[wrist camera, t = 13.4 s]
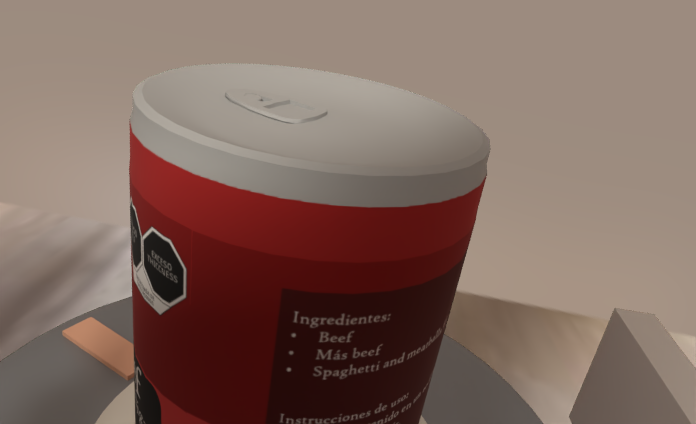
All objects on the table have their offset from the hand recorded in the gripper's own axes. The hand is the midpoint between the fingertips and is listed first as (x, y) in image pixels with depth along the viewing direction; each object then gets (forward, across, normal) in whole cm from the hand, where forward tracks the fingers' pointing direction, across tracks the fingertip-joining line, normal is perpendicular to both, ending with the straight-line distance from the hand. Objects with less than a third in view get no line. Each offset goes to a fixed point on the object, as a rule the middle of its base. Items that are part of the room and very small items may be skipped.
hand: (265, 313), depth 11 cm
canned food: (+3, 0, -8) cm, 9 cm away
